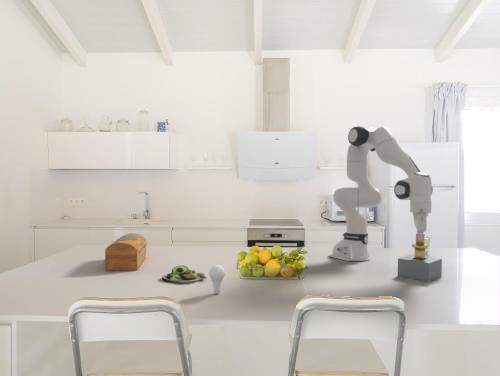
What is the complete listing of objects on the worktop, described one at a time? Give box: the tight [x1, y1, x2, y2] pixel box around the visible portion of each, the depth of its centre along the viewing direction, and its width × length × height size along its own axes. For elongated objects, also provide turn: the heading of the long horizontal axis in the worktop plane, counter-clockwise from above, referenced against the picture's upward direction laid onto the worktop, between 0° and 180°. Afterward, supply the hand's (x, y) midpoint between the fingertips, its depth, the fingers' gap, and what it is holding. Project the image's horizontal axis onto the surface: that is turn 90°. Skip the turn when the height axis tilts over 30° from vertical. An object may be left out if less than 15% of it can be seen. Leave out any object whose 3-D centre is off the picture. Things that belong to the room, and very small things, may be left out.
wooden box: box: [104, 232, 148, 272], centre depth 202 cm, size 30×16×14 cm, turn 6°
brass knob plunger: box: [411, 233, 428, 260], centre depth 179 cm, size 7×7×14 cm
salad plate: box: [161, 265, 208, 285], centre depth 174 cm, size 19×18×5 cm
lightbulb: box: [208, 264, 226, 294], centre depth 151 cm, size 6×6×11 cm
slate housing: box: [397, 253, 443, 282], centre depth 180 cm, size 14×14×8 cm
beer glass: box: [424, 236, 432, 257], centre depth 196 cm, size 7×7×15 cm
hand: (420, 239), depth 179 cm, fingers closed on brass knob plunger, 4 cm apart
